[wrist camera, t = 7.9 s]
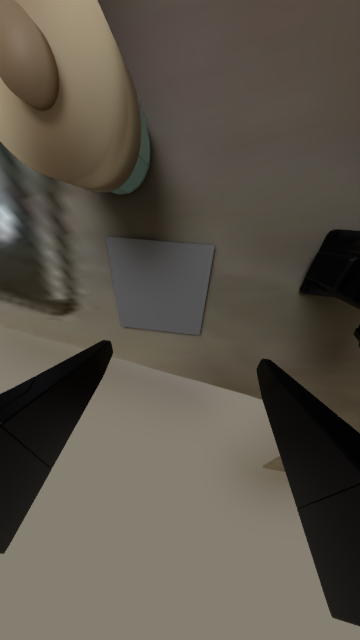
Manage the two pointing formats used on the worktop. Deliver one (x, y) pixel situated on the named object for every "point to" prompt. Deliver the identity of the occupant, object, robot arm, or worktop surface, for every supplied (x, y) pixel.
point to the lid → (67, 93)
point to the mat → (160, 283)
